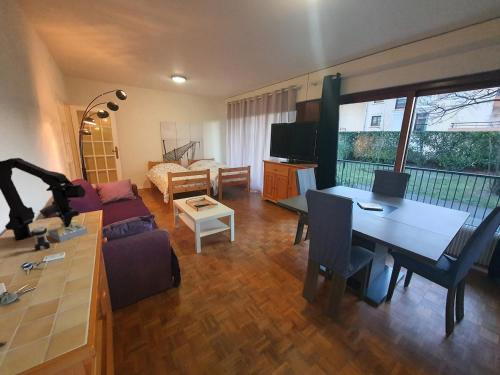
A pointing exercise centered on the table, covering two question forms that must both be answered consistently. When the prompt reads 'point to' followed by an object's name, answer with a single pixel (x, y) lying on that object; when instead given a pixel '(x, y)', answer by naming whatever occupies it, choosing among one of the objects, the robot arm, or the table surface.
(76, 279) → the table surface
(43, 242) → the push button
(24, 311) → the table surface
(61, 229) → the slider
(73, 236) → the switch unit
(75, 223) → the slider
